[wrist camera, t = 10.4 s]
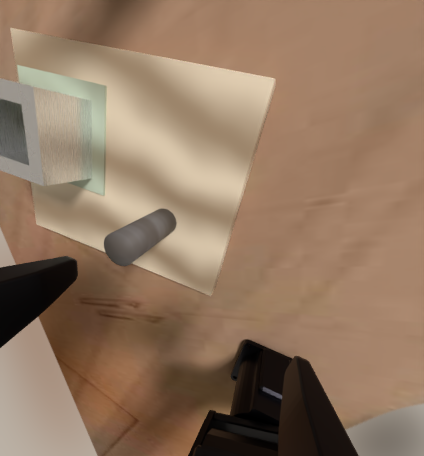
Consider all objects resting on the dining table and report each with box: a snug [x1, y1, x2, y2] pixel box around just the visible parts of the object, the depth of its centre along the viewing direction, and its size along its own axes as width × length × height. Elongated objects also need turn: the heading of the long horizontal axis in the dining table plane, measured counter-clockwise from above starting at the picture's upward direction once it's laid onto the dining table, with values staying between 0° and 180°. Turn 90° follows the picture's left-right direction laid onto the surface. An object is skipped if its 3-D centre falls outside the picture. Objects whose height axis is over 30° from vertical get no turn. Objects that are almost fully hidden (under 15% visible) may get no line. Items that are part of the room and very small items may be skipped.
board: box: [10, 28, 276, 296], centre depth 17 cm, size 18×22×8 cm
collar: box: [0, 78, 92, 186], centre depth 17 cm, size 6×6×4 cm
